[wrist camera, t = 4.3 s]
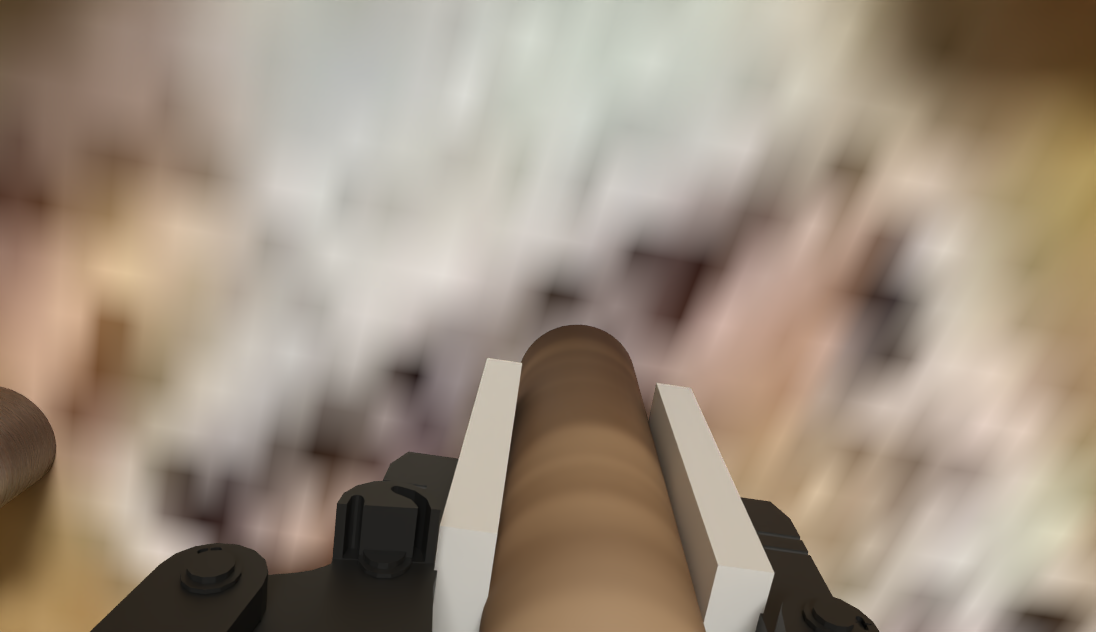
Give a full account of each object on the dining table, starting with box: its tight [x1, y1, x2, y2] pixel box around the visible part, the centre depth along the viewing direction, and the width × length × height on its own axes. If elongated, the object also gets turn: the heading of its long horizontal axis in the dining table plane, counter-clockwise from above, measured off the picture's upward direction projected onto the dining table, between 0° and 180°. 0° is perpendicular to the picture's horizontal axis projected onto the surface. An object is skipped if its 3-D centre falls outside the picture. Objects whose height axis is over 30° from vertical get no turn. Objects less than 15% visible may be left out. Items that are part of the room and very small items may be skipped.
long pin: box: [479, 325, 706, 632], centre depth 13 cm, size 3×3×12 cm
